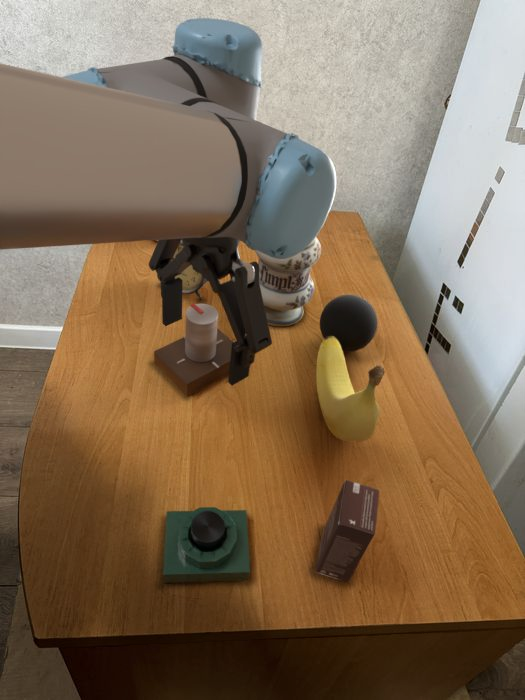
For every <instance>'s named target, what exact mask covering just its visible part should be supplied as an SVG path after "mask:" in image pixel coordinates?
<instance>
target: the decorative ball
mask: <svg viewBox="0 0 525 700" xmlns="http://www.w3.org/2000/svg"><path fill="white" fill-rule="evenodd" d="M319 317H320V318H319V329H320V334H321V336H322V337H323V340H324V339H325V338H326V337H327V336H335V337H336V339H337V340H338V341H339V343H340V345H341V348H342V351H343V352H344V353H345V352H346V353H347V352H348V353H350V352H357V351H359V350H361V349H363V348H365V347H367V346H368V345H369V344H370V343H371V342H372V340H373V339H374V338H375V336H376V333H377V330H378V324H379V323H378V316H377V313H376V310H375V308H374V307H373V306H372V304H371V303H370V302H369V301H368V300H367V299H365V298H364V297H362V296H359V295H355V294H342V295H338V296H336V297H334V298H332V299H331V300H330V301H329V302H328V303H326V304H325V306H324V308H323V309H322V311H321V314H320V316H319Z"/></svg>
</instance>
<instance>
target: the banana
mask: <svg viewBox="0 0 525 700" xmlns="http://www.w3.org/2000/svg"><path fill="white" fill-rule="evenodd" d="M315 372H316V374H315V376H316V377H315V379H316V391H317V398H318V403H319V407H320V409H321V413H322V416H323V419H324V422H325V424H326V426H327V429H328V430H329V431H330V432H331V434H332V435H333V436H334V437H335V438H337V439H338V440H341V441H343V442H350V443H358V442H365V441H367V440H369V439H370V438H371V437H372V436H373V435H374V433H375V431H376V427H377V424H378V421H379V417H380V405H379V404H378V402H377V399H376V395H375V391H376V387H377V386H379V385H380V383H381V381H382V379H383V377H384V375H385V372H386V371H385V368H384V366H382V365H380V364H379V365H376V366H374V367H373V368H370V369H369V370H368V371H367V372H368V381H367V382H368V383H367V385H366V387H365V388H364V389H362V390H361V391H357V392H355V390H354V387H353V384H352V381H351V377H350V375H349V371H348V368H347V363H346V358H345V354H344V351H342V348H341V345H340V343H339V341H338V340H337V339H336V337H335V336H327V337H326V338H325V339H324V338H323V340H322V342H321V344H320V346H319V349H318V352H317V358H316V371H315Z"/></svg>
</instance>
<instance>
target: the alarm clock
mask: <svg viewBox="0 0 525 700" xmlns="http://www.w3.org/2000/svg"><path fill="white" fill-rule="evenodd" d="M183 248H184V245H183V242H182V240H181V242H180V244H179V246H178V248H177V250H176V252H175V254H174V256H173V258H172V260H173V259H174V258H176V257H175V256H176V255H177V254H178V253H179V252H180V251H181V250H182V249H183ZM154 250H155V248H154V249H153V251H154ZM172 260H171V261H172ZM192 267H193V266H192V265H190V266H189V267H188V268H186V269H185V270H184V271H183V272H181V273H182V274H180V275H178V276H175V279H176V278H181V279H182V280H183V290H182V295H192V294H195V295H196V296H197V297H198V299H199V301H203V300H204V299H203V296H202V295H201V293H200V289H201V288H202V287H204V286H205V285H206V283H209V281H208V280H206V279H205V278H204V277H203V276H202V274H200V273H198V272H196V271H195V270H193V269H192ZM155 273H156V275H157V274H158V273H157V271H156V270H155Z"/></svg>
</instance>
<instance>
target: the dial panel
mask: <svg viewBox="0 0 525 700" xmlns="http://www.w3.org/2000/svg"><path fill="white" fill-rule="evenodd" d="M233 342H234V341H233V339H231V338H230V337H229V336H227V335H226V334H225V333H224V332H223V331H222V330H220V328H217V343H216V354H215V356H214V357H213V358H212V359H211V360H209V361H206V362H196V361H193V360H191V359H189V358H188V357H187V355H186V353H185V334H184V335H182V337H180V338H178V339H176V340H175V341H172V342H170V343H168V344H166V345H163V346H162V347H160V348H158V349H156V350H154V351H153V358H154V359H153V360H154V365H155V367H157V369H158V370H159V371H161V373H162V374H163V375H165V376H166V377H167V379H169V380H170V381H171V383H173V384H174V385H175V386H176V388H178V389H179V390H180V391H181V393H183V394H184V395H185V396H186V397H190V396H192V395H193V394H195V393H196V392H199V391H200V390H202V389H204V388H206V387H207V386H209V385H211V384H213V383H215V382H217V381H218V380H220V379H222V378H224V377H226V376H227V375H229V368H230V358H231V348H232V343H233Z"/></svg>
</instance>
